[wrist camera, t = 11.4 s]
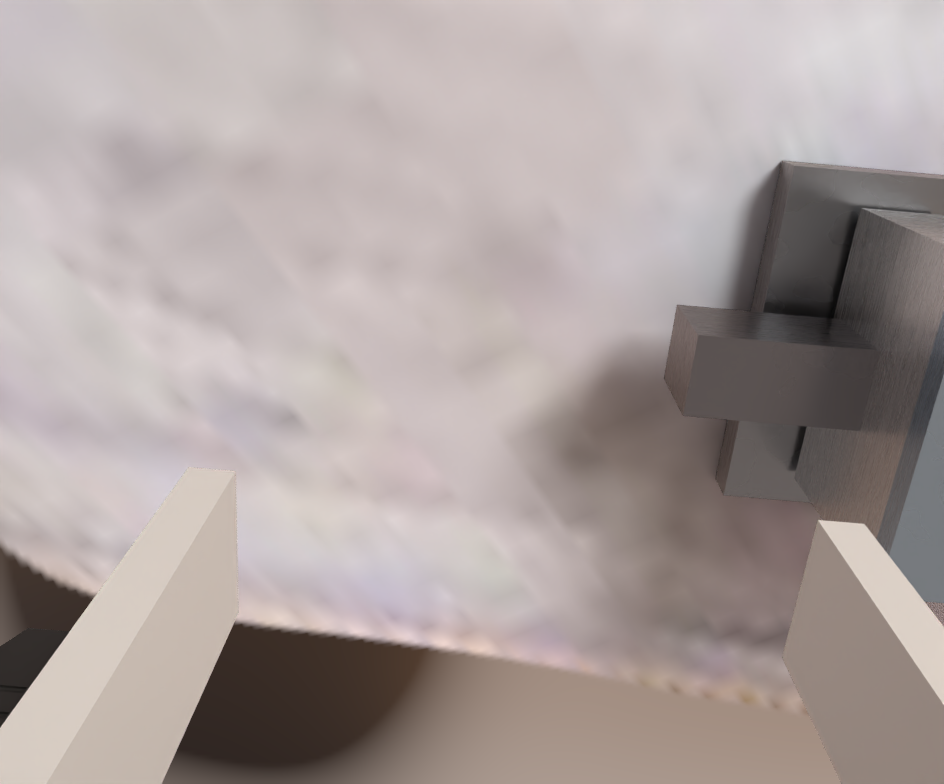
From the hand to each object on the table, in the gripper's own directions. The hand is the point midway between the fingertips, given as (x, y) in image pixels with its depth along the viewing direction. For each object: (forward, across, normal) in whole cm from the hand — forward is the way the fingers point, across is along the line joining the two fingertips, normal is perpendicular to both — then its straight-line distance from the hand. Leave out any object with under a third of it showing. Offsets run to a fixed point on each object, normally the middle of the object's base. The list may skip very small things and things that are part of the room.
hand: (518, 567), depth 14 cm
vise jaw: (+14, +9, 0) cm, 17 cm away
